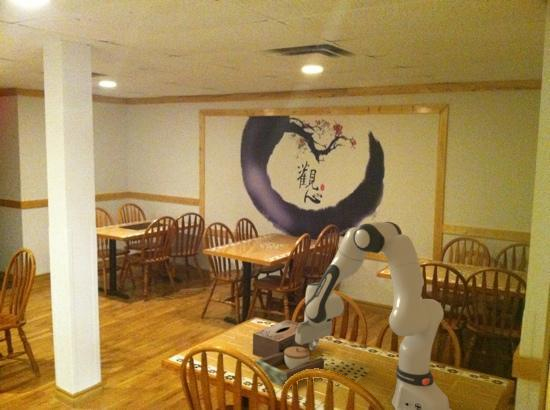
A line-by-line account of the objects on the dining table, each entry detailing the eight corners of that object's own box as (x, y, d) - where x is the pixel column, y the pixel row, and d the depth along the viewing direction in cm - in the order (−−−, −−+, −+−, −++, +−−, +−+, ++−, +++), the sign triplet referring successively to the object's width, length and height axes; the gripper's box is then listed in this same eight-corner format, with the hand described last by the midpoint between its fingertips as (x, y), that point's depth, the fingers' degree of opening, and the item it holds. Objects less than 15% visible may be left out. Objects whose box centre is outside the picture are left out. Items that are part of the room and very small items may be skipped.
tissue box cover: (286, 339, 245) (286, 319, 244) (310, 346, 236) (311, 326, 235) (252, 354, 225) (253, 333, 224) (277, 363, 216) (278, 341, 215)
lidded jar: (280, 365, 214) (280, 344, 213) (302, 362, 218) (303, 341, 217) (289, 375, 204) (290, 353, 203) (313, 372, 208) (313, 351, 207)
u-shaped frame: (323, 370, 210) (324, 359, 209) (282, 387, 194) (283, 374, 193) (295, 357, 222) (295, 346, 222) (254, 372, 206) (255, 360, 205)
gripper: (303, 325, 207) (301, 357, 208) (335, 316, 220) (333, 346, 222) (292, 321, 211) (291, 352, 213) (324, 312, 225) (322, 341, 227)
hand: (312, 349), depth 217 cm, fingers closed
